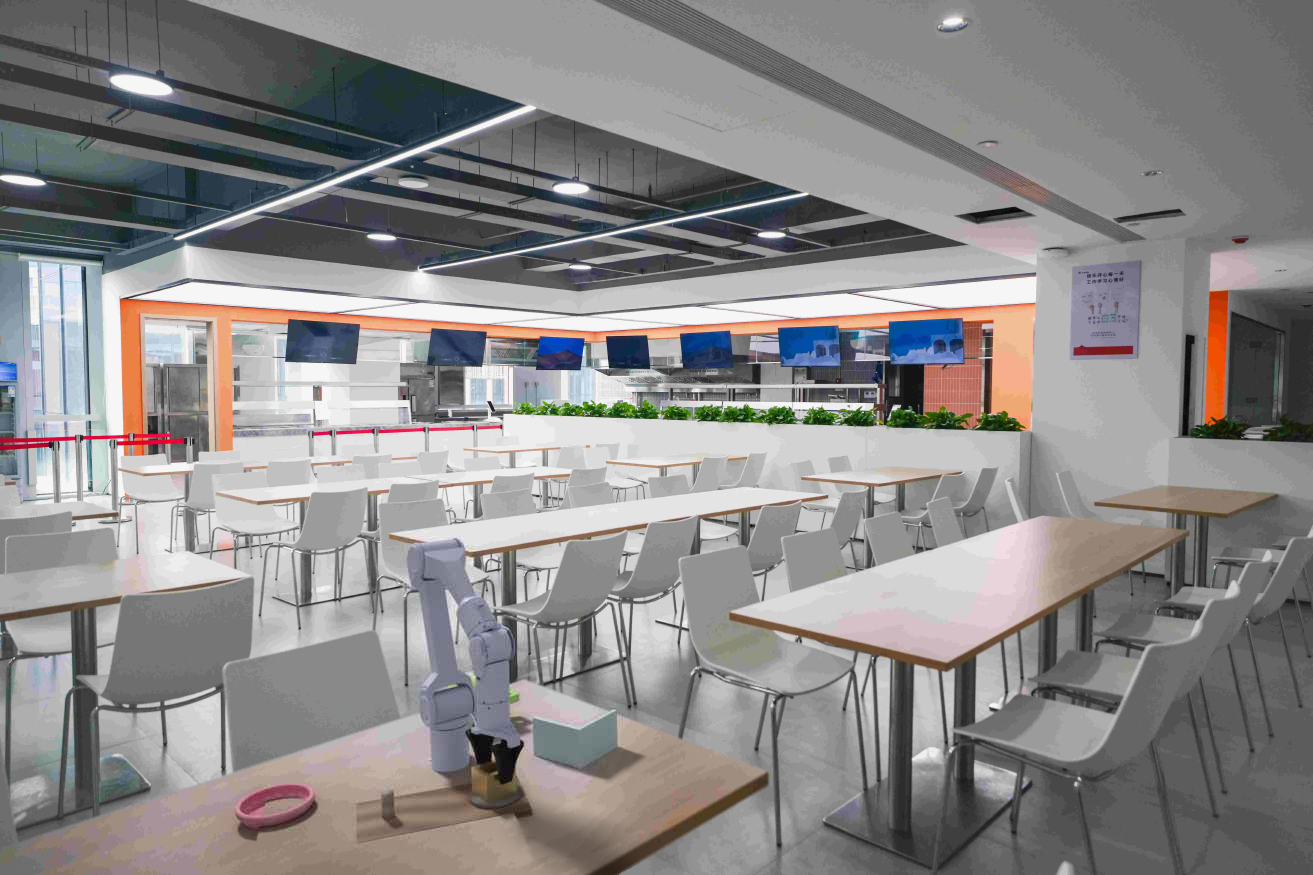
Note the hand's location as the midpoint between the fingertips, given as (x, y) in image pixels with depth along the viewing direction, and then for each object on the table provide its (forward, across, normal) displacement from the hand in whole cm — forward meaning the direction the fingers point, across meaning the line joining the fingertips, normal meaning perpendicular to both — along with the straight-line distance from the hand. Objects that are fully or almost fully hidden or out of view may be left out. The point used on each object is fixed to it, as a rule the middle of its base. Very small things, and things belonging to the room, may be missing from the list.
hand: (495, 774), depth 142 cm
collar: (+3, 0, 0) cm, 3 cm away
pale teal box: (+5, -8, +23) cm, 25 cm away
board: (+5, -3, -8) cm, 10 cm away
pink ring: (+5, -22, -30) cm, 38 cm away
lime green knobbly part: (+5, -34, +15) cm, 38 cm away
